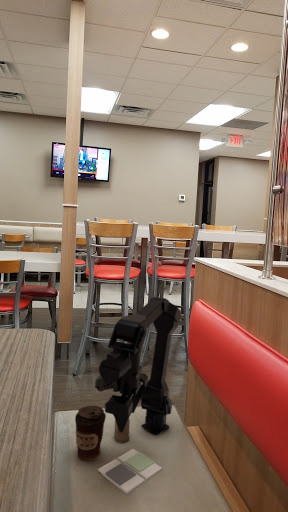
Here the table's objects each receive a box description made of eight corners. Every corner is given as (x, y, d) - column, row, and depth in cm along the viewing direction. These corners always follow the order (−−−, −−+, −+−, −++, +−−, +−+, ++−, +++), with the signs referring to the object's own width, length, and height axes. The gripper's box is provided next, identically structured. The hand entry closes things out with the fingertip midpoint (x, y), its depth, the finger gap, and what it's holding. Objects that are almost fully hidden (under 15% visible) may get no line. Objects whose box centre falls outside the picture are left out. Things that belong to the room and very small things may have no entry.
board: (133, 450, 110) (133, 447, 110) (161, 469, 103) (161, 466, 102) (97, 471, 101) (98, 467, 101) (126, 494, 93) (126, 490, 93)
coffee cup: (98, 467, 102) (99, 422, 101) (68, 461, 104) (70, 417, 102) (107, 447, 111) (109, 405, 109) (80, 442, 112) (81, 401, 111)
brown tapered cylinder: (121, 432, 119) (122, 414, 118) (131, 438, 116) (132, 420, 115) (111, 438, 116) (112, 419, 115) (121, 444, 113) (122, 425, 112)
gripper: (112, 349, 111) (110, 399, 113) (85, 376, 93) (84, 435, 95) (149, 354, 108) (147, 406, 110) (128, 384, 90) (126, 445, 93)
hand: (126, 421), depth 102 cm, fingers open, 9 cm apart
